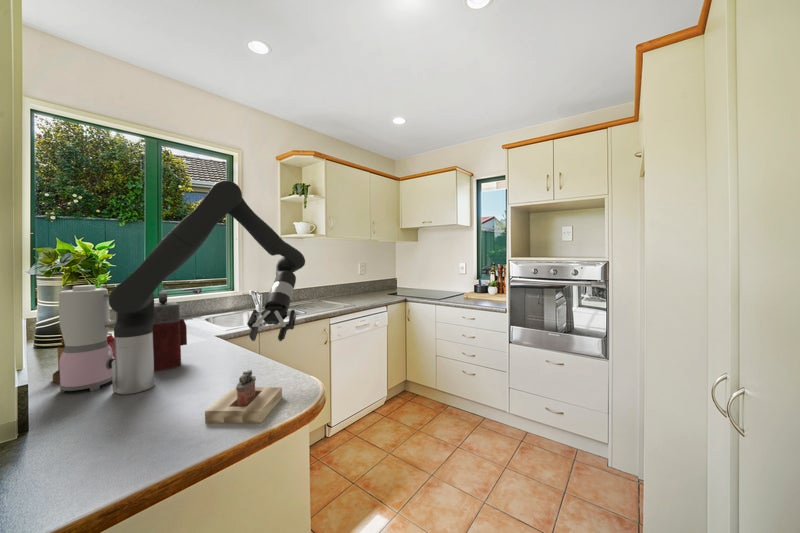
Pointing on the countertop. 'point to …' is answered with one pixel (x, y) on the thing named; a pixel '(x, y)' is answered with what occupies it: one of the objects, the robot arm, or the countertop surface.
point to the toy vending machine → (167, 334)
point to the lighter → (245, 389)
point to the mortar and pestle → (60, 350)
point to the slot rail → (253, 413)
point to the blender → (85, 338)
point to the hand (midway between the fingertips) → (266, 339)
